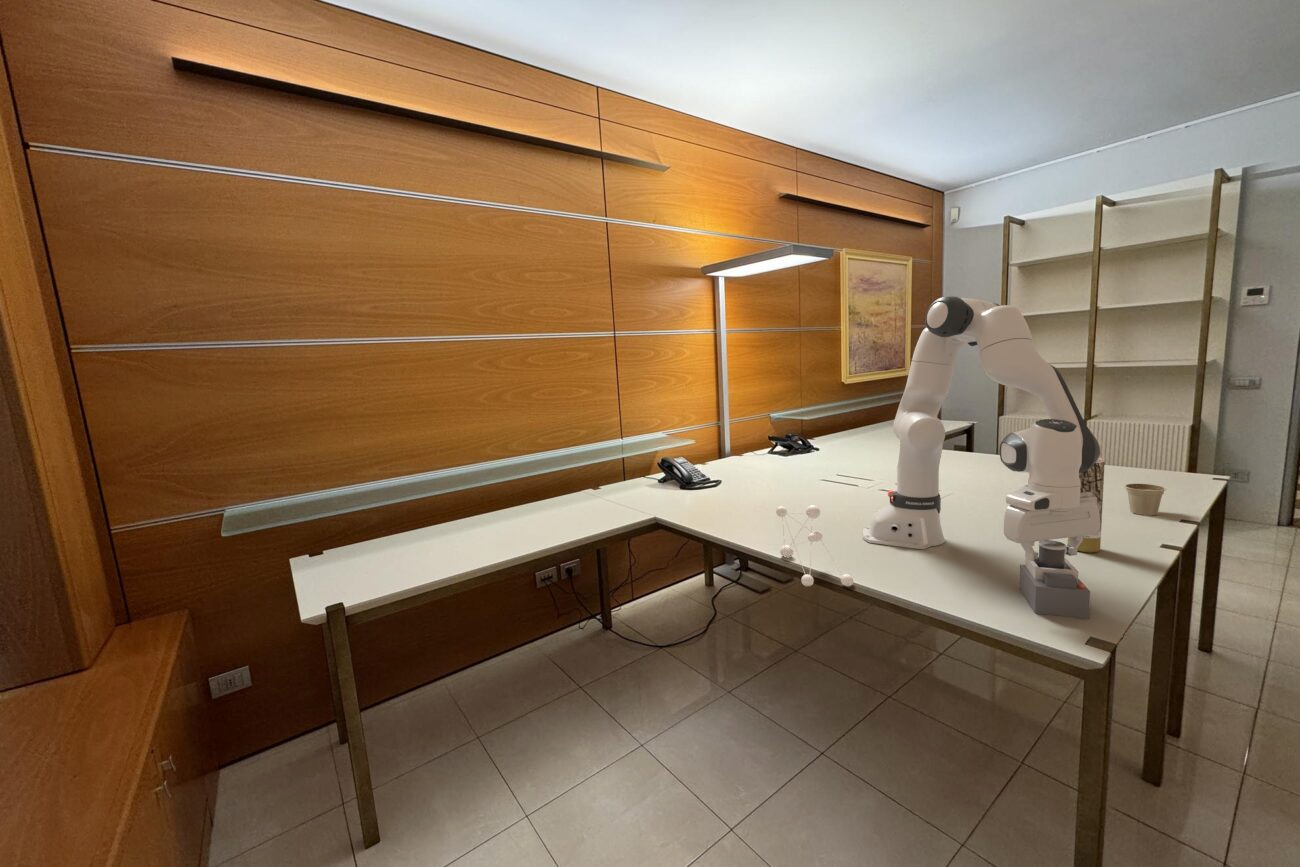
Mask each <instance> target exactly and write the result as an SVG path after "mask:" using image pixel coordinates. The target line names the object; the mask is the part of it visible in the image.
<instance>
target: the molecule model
mask: <svg viewBox="0 0 1300 867" xmlns="http://www.w3.org/2000/svg"><path fill="white" fill-rule="evenodd" d="M775 513H776V515H777V516H778V517H780V518H781V519H782V521H784V519H785V522H786V526H787V528H788V532H789V534H790V537H791V540H792V542H791V543H790V545H788V544H786V542H785V540H783V546H781V548H780V550H779V554H780V555H781V556H782V557H783V556H786V557H790V556H792V555H793V556H794V548H795V550H796V553H797V556H798V560H799V561H800V565H801V567H802V570H803V572H804V574H803V576H801V580H800V581H801V584H802V585H803V586H804V587H809V588H810V587H811V586H813V584H814V582H815V579H814V577H813V576H812V575H811V574H808V573H807V574H806V572H805V568H804V566H803V564H802V561H801V558H800V555H799V553H798V549H797V547H796V546H798V545H801V544H803V543H807V542H810V545H812V543H813V542H820V541H821V543H822V545H823V546H824V548H825V550H826V551H827V553H828V554H829V556H830V557H831V559H832V560H833V562H834V564H835V566H836V567H837V569H838V571H839V572H840V574H841V577H840V583H841V585H843V586H844V587H852V585H853V584H854V578H853V577H852V575H850V574H848V573H845V574H843V573H842V571H841V570H840V567H839V566H838V564H837V563H836V562H835V560H834V558H833V557H832V554H831V553H830V551H829V550H828V548H827V547H826V545H825V544H824V542H823V541H822V540H823V533H822V532H821V531H820V530H818V529H816V530H813V527H811V530H810V529H809V528H808V527H806V526H805V524H806V523H807V522H808V520H809V518H810V519H811V520H814V519H818V518H819V517H820V515H821V510H820V508H819V507H818V506H817V505H813V504H812V505H809V506H808V507H807V508H806V509H805V512H802V513H801V512H789V513H788V510H787V509H786V507H784V506H782V505H780V506H778V507H777V508H776V509H775ZM789 514H795V515H796V514H797V515H798V514H800V515H803V514H804V515H806V516H807V519H806V520H805V522H804V523H803V524H802V523H801V522H799V521H798V520H796V519H795V518H794V517H792V516H790V515H789ZM785 516H788V517H790V518H791V519H792V520H794V521H795V522H797V523H799V524H800V525H801V528H800V529H799V531H798V532H797V535H796V536H795V537H794V539H793V536H792V533H791V530H790V527H789V525H788V521H787V519H786V517H785ZM803 528H806V529H807V530H809V531H810V532H811V533H809V534H808V535H807V540H805V541H803V542H800V543H798V544H795V540H796V538H797V537H798V535H799V533H800V532H801V531H802V529H803ZM782 530H783V531H782V532H783V534H782V535H785V529H784V525H782ZM793 547H794V548H793ZM790 558H791V557H790ZM809 558H810V559H809V560H810V561H809V572H811V569H812V568H811V565H812V554H810V556H809Z"/></svg>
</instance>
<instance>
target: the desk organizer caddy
mask: <svg viewBox="0 0 1300 867" xmlns="http://www.w3.org/2000/svg"><path fill="white" fill-rule="evenodd" d="M1038 563H1039V556H1038V560H1033V561H1030V560H1028V559H1026V558H1025V564H1020V565H1019V585H1018V586H1019V591H1020V592H1021V594H1022V596H1023V597H1024V599H1025V600H1026V601H1027V603H1028V604H1029V606H1030V607H1031V610H1032V611H1033V612H1034V614H1038V615H1048V616H1056V617H1067V618H1077V619H1083V620H1085V619H1086V620H1090V601H1091V599H1090V598H1091V590H1090V589H1088V587H1087V586H1086V585H1085V584H1084V583H1083V582H1082V581H1081V580H1080V579H1079V571H1078V569H1077V568H1076V567H1075V566H1074V565H1073V564H1072V563H1071V562H1070V561H1069V560H1068V559H1067V558H1065V559H1064V569H1056V568H1043V567H1038Z"/></svg>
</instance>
